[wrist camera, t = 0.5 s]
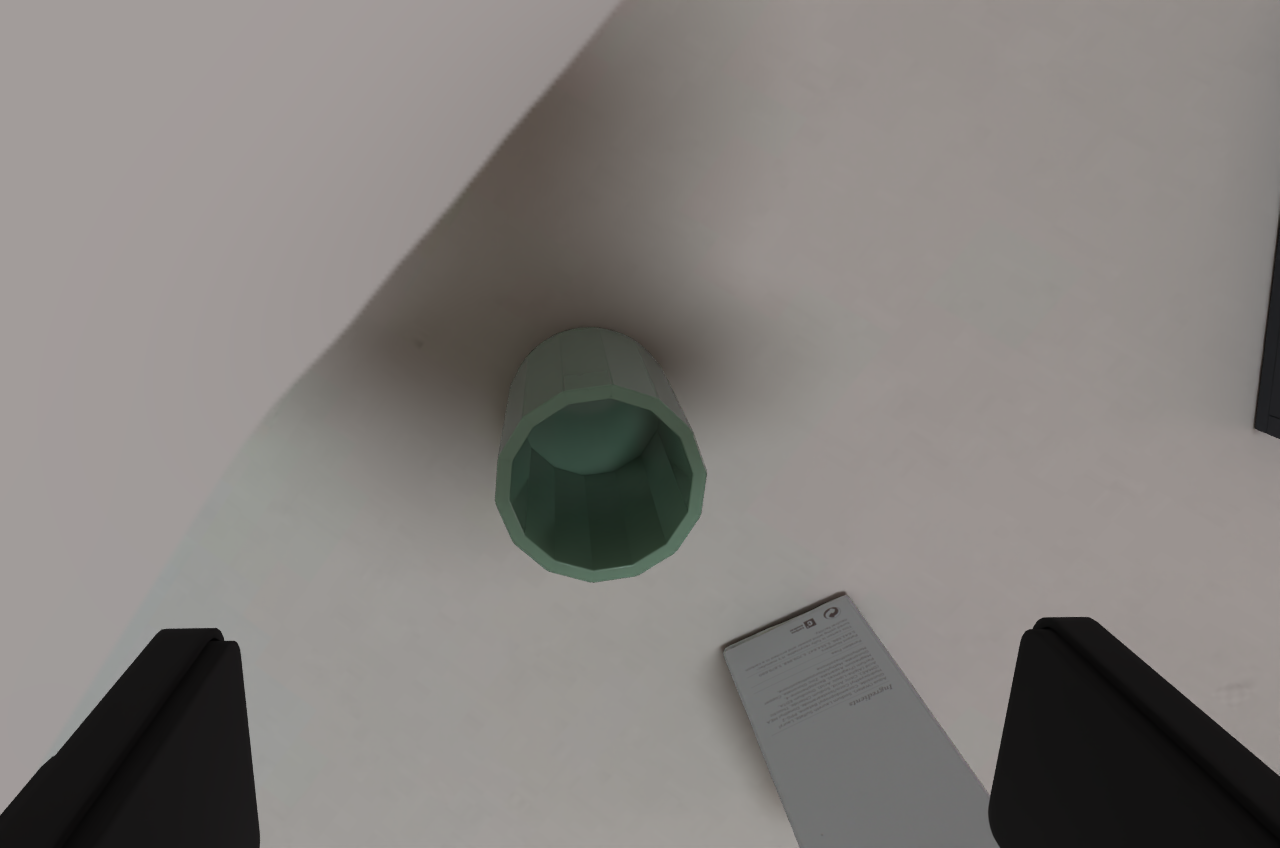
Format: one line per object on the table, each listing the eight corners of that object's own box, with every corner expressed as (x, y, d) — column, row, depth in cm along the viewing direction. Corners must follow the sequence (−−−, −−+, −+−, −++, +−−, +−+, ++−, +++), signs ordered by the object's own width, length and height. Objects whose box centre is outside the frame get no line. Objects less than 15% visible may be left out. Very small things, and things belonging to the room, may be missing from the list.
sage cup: (495, 338, 30) (476, 402, 23) (661, 316, 30) (697, 372, 23) (521, 489, 32) (511, 595, 24) (677, 467, 32) (715, 565, 25)
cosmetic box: (718, 646, 35) (831, 983, 21) (853, 584, 35) (1060, 883, 21) (791, 792, 38) (935, 1178, 24) (917, 736, 37) (1139, 1093, 23)
